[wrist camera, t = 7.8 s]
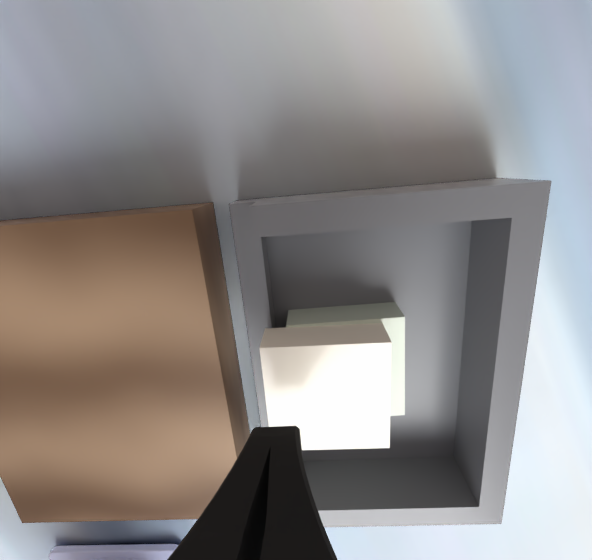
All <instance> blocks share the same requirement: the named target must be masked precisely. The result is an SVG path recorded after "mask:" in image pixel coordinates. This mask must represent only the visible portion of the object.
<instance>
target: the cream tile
mask: <svg viewBox="0 0 592 560" xmlns="http://www.w3.org/2000/svg"><path fill="white" fill-rule="evenodd" d="M259 349H260V357H261V366H262V374H263V382H264V391H265V399H266V407H267V416H268V424H269V427H276V426H297V427H298V428H299V429H300V437H301V447H302V450H332V449H373V448H390V406H391V354H392V342H391V340H390V338H389V335H388V333H387V331H386V329H385V327H384V325H383V323H370V324H349V325H328V326H306V327H285V328H265V330H264V334H263V337H262V341H261V344H260V348H259Z"/></svg>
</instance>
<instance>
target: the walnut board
mask: <svg viewBox="0 0 592 560" xmlns="http://www.w3.org/2000/svg"><path fill="white" fill-rule="evenodd" d="M249 436H250V431H249V424H248V418H247V412H246V406H245V399H244V393H243V387H242V381H241V374H240V368H239V362H238V356H237V349H236V343H235V337H234V331H233V324H232V318H231V312H230V306H229V299H228V293H227V287H226V281H225V274H224V268H223V262H222V256H221V249H220V243H219V237H218V231H217V224H216V218H215V212H214V206H213V202H211V203H200V204H188V205H176V206H165V207H153V208H141V209H130V210H118V211H106V212H95V213H83V214H71V215H60V216H48V217H36V218H25V219H13V220H1V221H0V477H1V479H2V481H3V483H4V485H5V487H6V489H7V492H8V494H9V496H10V498H11V500H12V502H13V504H14V506H15V509H16V511H17V513H18V515H19V517H20V519H21V521H22V523H36V522H81V521H126V520H171V519H198V518H199V517H200V516H201V514H202V513H203V511H204V510H205V508H206V507H207V505H208V504H209V503H210V501H211V500H212V498H213V497H214V495H215V494H216V492H217V491H218V489H219V487H220V486H221V484H222V483H223V481H224V479H225V478H226V476H227V475H228V473H229V471H230V470H231V468H232V467H233V465H234V463H235V461H236V460H237V458H238V456H239V454H240V453H241V451H242V449H243V447H244V445H245V444H246V442H247V440H248V438H249Z"/></svg>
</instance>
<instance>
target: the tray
mask: <svg viewBox="0 0 592 560" xmlns="http://www.w3.org/2000/svg"><path fill="white" fill-rule="evenodd" d="M550 186H551V181H548V180H528V179H508V178H491V179H480V180H468V181H456V182H445V183H433V184H421V185H410V186H398V187H386V188H375V189H363V190H351V191H340V192H328V193H316V194H305V195H293V196H281V197H270V198H258V199H246V200H237V201H235V202H232V203H230V204H229V208H230V215H231V222H232V229H233V236H234V243H235V250H236V256H237V263H238V270H239V277H240V284H241V291H242V298H243V304H244V311H245V318H246V325H247V332H248V339H249V346H250V353H251V359H252V366H253V373H254V380H255V387H256V394H257V401H258V407H259V414H260V421H261V427H269V424H268V416H267V407H266V399H265V391H264V382H263V374H262V366H261V357H260V349H259V348H260V344H261V341H262V337H263V334H264V330H265V328H285V327H286V323H287V317H288V310H295V309H308V308H321V307H334V306H347V305H360V304H374V303H387V302H396V304H397V305H398V307H399V308H400V310H401V311H402V313H403V315H404V316H405V415H398V416H390V448H373V449H332V450H302V456H303V463H304V467H305V471H306V475H307V478H308V482H309V485H310V488H311V492H312V495H313V498H314V501H315V504H316V507H317V510H318V512H319V515H320V518H321V521H322V523H323V526H324V527H365V526H415V525H465V524H501V523H502V516H503V509H504V502H505V495H506V489H507V482H508V475H509V468H510V461H511V454H512V447H513V440H514V434H515V427H516V420H517V413H518V406H519V399H520V392H521V386H522V379H523V372H524V365H525V358H526V351H527V344H528V337H529V331H530V324H531V317H532V310H533V303H534V296H535V289H536V283H537V276H538V269H539V262H540V255H541V248H542V241H543V234H544V228H545V221H546V214H547V207H548V200H549V193H550Z"/></svg>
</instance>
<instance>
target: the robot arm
mask: <svg viewBox="0 0 592 560" xmlns="http://www.w3.org/2000/svg"><path fill="white" fill-rule="evenodd" d="M49 559H50V560H337V558H336V555H335V553H334V551H333V548H332V546H331V544H330V541H329V539H328V536H327V534H326V531H325V529H324V526H323V523H322V521H321V518H320V515H319V512H318V510H317V507H316V504H315V501H314V498H313V495H312V492H311V488H310V485H309V482H308V478H307V475H306V471H305V467H304V463H303V456H302V447H301V437H300V429H299V428H298V427H297V426H276V427H255V428H254V429H253V430H252V432H251V434H250V436H249V438H248V440H247V442H246V444H245V445H244V447H243V449H242V451H241V453H240V454H239V456H238V458H237V460H236V461H235V463H234V465H233V467H232V468H231V470H230V471H229V473H228V475H227V476H226V478H225V479H224V481H223V483H222V484H221V486H220V487H219V489H218V491H217V492H216V494H215V495H214V497H213V498H212V500H211V501H210V503H209V504H208V505H207V507H206V508H205V510H204V511H203V513H202V514H201V516H200V517H199V518H198V520H197V521H196V523H195V524H194V525H193V527H192V528H191V530H190V531H189V532H188V534H187V535H186V536H185V538H184V539H183V540H182V541H181V543H180V544H179V545H177V544H130V545H72V546H55V547H54V548H53V549H52V550H51V552H50V553H49Z"/></svg>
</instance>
